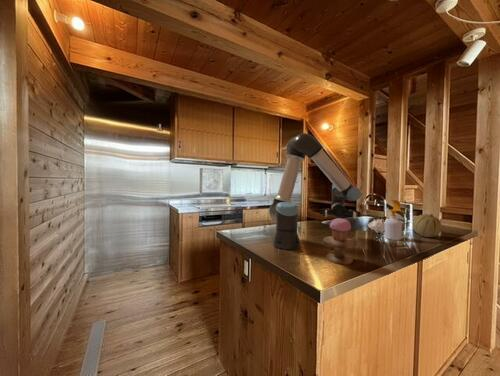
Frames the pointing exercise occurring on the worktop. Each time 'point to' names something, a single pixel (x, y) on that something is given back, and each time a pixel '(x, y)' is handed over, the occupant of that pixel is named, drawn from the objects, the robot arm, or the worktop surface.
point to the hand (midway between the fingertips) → (340, 215)
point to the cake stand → (339, 250)
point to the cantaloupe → (427, 225)
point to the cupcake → (340, 229)
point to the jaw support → (377, 225)
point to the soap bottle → (393, 224)
